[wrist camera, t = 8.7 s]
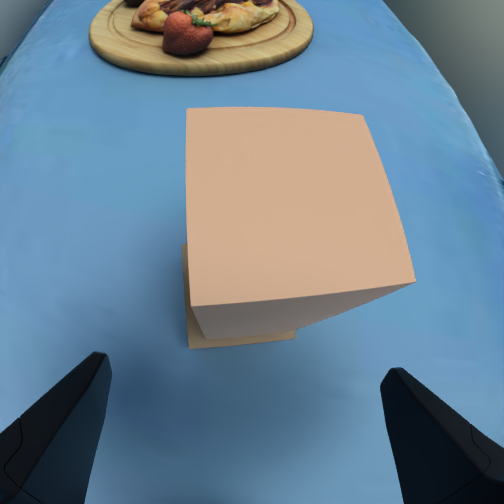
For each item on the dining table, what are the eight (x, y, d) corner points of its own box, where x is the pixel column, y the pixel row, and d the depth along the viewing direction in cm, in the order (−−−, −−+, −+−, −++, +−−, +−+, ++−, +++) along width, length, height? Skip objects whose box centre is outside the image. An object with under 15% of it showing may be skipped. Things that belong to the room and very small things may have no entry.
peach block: (289, 331, 18) (416, 281, 6) (206, 340, 17) (191, 306, 6) (278, 253, 20) (362, 115, 8) (200, 258, 19) (186, 108, 7)
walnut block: (281, 339, 22) (296, 338, 18) (192, 348, 21) (189, 348, 17) (270, 255, 24) (282, 238, 20) (185, 261, 23) (181, 243, 19)
